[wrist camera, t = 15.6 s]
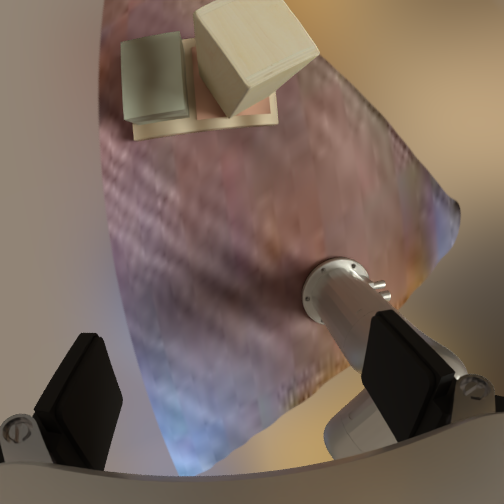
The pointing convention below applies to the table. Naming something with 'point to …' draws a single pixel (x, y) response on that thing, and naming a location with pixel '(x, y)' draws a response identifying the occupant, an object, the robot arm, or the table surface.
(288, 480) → the robot arm
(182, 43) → the board
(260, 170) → the table surface
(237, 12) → the toy refrigerator
